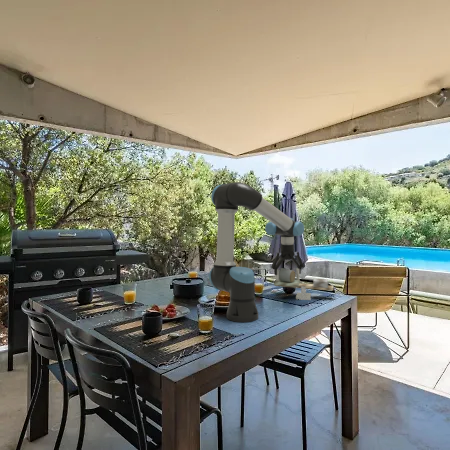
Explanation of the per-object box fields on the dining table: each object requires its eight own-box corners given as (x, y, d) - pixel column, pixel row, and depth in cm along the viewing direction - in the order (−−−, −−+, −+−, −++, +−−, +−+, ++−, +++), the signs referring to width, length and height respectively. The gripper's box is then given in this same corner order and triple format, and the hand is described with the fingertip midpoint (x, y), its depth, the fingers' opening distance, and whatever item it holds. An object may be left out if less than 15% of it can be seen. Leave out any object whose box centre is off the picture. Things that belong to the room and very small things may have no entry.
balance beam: (273, 287, 191) (274, 279, 191) (276, 282, 206) (277, 274, 206) (333, 292, 183) (333, 283, 182) (332, 286, 197) (332, 278, 197)
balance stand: (296, 299, 190) (295, 286, 190) (297, 294, 201) (297, 282, 201) (310, 300, 188) (310, 287, 187) (310, 295, 199) (310, 283, 199)
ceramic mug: (290, 283, 191) (291, 270, 191) (277, 281, 196) (278, 268, 195) (298, 281, 199) (298, 268, 199) (285, 279, 204) (286, 266, 204)
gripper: (303, 242, 202) (303, 277, 203) (265, 244, 197) (265, 279, 198) (309, 243, 195) (309, 279, 196) (270, 245, 190) (270, 282, 190)
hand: (287, 279), depth 197 cm, fingers open, 12 cm apart
